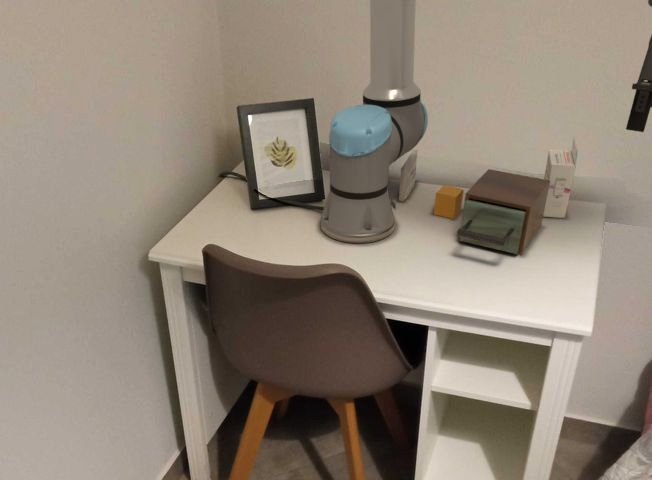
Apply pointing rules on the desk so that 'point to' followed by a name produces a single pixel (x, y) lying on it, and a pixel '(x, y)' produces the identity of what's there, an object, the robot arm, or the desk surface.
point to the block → (448, 201)
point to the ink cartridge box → (559, 180)
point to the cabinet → (514, 198)
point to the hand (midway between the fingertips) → (642, 118)
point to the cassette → (408, 176)
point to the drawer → (492, 225)
